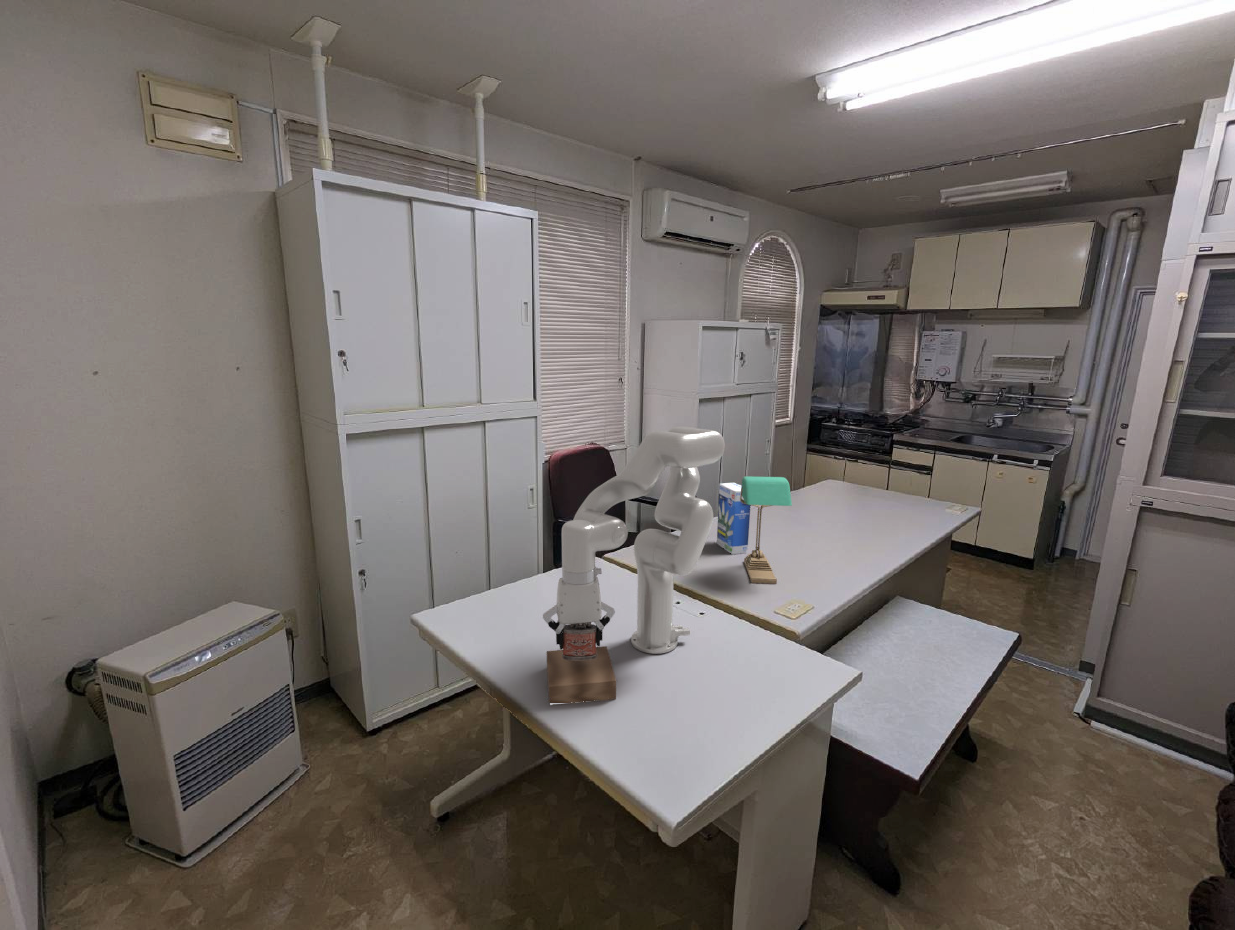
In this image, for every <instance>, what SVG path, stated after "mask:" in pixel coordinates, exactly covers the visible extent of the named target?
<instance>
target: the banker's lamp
mask: <svg viewBox="0 0 1235 930" xmlns="http://www.w3.org/2000/svg"><path fill="white" fill-rule="evenodd" d="M791 495H792V494H791V488H790V483H789V481H788V479H787V478H786V477H783V476H751V475H749V476H746V475H745V476H743V477H742V479H741V494H740V501H741V502H742V503H744V504H748V505H750V506H753V507H757V518H756V535H755V536H756V537H755V549H754V550H753V549H752V550H751V553H747V555H746V556H745V557H744V559H743V563H744V566H745V568H746V571H747V574H748V577H749V579H750V583H752V584H772V585H774V584H775V585H777V580H778V578H776V576H775V574H774V572H773V567H772V566H771V564H770V562H769V560H768V558H767V557H766V555H765V554H764V553H763V550H760V549H761V525H762V513H763V512H762V511H763V509H764V508H767V507H773V506H781V507H782V506H783V507H791V506H792V505H793V503H792V496H791ZM742 497H743V499H744V500H743V499H742Z"/></svg>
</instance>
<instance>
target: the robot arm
mask: <svg viewBox="0 0 1235 930" xmlns="http://www.w3.org/2000/svg"><path fill="white" fill-rule="evenodd" d="M725 448H726V443H725V439H724V437H723V435H722V434H721V433H719V432H718V431H716V430H714V429H713V430H712V429H705V428H697V427H690V426H689V427H688V426H675V427H672V428H670V429H668V431H664V430H662V431H661V430H655V431H651V432H649V433H648V434H647V435H645V437H644V439H642V441H641V443H640V444H639V446H638V447H637V448H636V450H635V451H634V453H633V454H632V456H631V457H630V459H629V461H627V463H626V465H625V466H624V468H623V469H622V471H620V472H619V473H618V474H617V475H616V476H613V477H612V478H609V479H608V480H607V481H605V482H604V483H602V484H600V485H599V486H597V487H596V488H594V489H593V490H592V491H591V492H590V493H589V494H588V495H587V497H586V498H585V499H584V500H583V502H582V503H581V504H580V506H579V507H578V510H577V511H576V512H575V515H574V516H573V520H572V519H571V520H568V521H566V522H565V523H564V524H563V525H562V527H561V571H562V572H561V573H562V574H561V575H562V576H561V577H559V579H558V584H557V590H556V591H557V592H556V604H555V605H553V607H551V608H549V609H548V610H546V612H544V613H543V614H542V619H543V621H544V622H545V623H546V624H547V626H548V627H549V628H550V629H552V630H553V631H554V632H555V638H556V639H555V642H556V645H559V650H563V632H562V629H563V628H564V626H565V625H569V624H577V623H588V622H591V623H594V625H596V627H597V630H596V647H601V641H603V630H604V629H605V627H606V626H607V625H608V623H610V621H611V619H612V618H613V617H614V615H615V613H616V610H615V608H613V607H612V606H610V605H608V604H606V603H604V602H603V601H602V598H601V588H600V582H599V578H598V576H599V575H602V568H601V567H600V568H598V567H597V566H596V553H597V552H601V551H610V550H611V551H612V550H615V549H618V548H620V547H621V546H622V545H623V544H625V542H626V541H627V539H628V535H629V529H628V526H627V525H626V523H625V522H624V521H623V520H621V519H620V518H618V517H616V516H612V515H609V514H606V512H607V511H608V510H609V509H611V508H612V507H613V506H615V505H617V504H619V503H621V502H624V501H629V500H632V499H633V500H634V499H637V498H640V497H644V496H647V495H648V494H649V493H650V492H651V491H652V489H653V487H654V486H655V484H656V483H657V481H658V480H659V478H660V477H661V475H662V474H663V472H664V470H665V469H667V467H669V475H668V478H667V479H666V480H667V481H666V483H665V486H664V488H663V490H662V493H661V495H660V498H659V500H658V502H657V504H656V507H655V510H654V519H655V521H656V523H658V524H659V525H660V526H663V527H664V528H667V529H670V530H673V531H678V532H680V535H677V534H674V533H671V532H668V531H664V530H662V529H656V528H646V529H643V530H642V531H640V532H639V533H638V534H637V536H636V537H635V540H634V543H633V551H634V552H633V553H634V559H635V563H636V564H635V565H636V572H637V573H636V574H637V593H636V595H637V596H636V597H637V599H636V601H637V603H636V604H637V605H636V610H637V611H636V614H637V615H636V617H637V618H636V631H633V633H632V634H631V638H630V639H631V640H630V641H631V645H632V646H633V647H634V648H635V649H636V650H637V651H640V652H642V653H647V654H653V655H656V654H666V653H669V652H672V651H673V650H675V649H676V648H677V646H678V642H679V639H678V638H679V637H682V636H683V637H686V636H690V634H691V632H690V631H691V630H690V628H689V627H683V625H682V624H677V625H674V624H673V620H674V619H673V616H674V615H673V613H674V578H673V575H675V576H678V577H684V576H685V577H686V576H688V575H689V574H690V573H692V572H693V570H695V567H696V566H697V564H698V562H699V560H700V557H701V555H702V553H703V549H704V547H705V545H706V542H707V540H708V538H709V534H710V532H711V530H712V527H713V523H714V510H713V508H712V507H713V506H711V504H710V503H709V502H708V501H707V500H705V499H702V498H699V497H696V495H697V492H698V490H699V487H700V483H701V476H700V472H699V468H698V467H704V466H707V465H712V464H714V463H716V462H717V461H719V460H720V459H721V458H722V456H723V455H724V452H725ZM602 611H604V612H606V613H605V615H604V616H602ZM555 615H557V621H555V620H554V619H552V617H553V616H555Z"/></svg>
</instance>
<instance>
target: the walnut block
mask: <svg viewBox="0 0 1235 930" xmlns="http://www.w3.org/2000/svg"><path fill="white" fill-rule="evenodd" d="M596 652H597V657H596V658H595V659H591V660H565V659H563V657H562V653H563V649H561V650H560V649H557V650H556V649H555V650H546V673H547V674H548V675H547V674H546V675H547V685H548V687H547V688H548V689H549V691H548V704H549V703H571V702H573V703H571V704H576V703H575V702H581V703H587V702H586V701H591V702H597V701H596V700H601V701H608V700H609V701H610V700H611V701H612V700H616V699H617V679H616V676H615V672H614V667H613V665H612V660H611V658H610V654H609V650H608V646H606V645H605V646H596ZM548 689H547V690H548ZM594 700H595V701H594ZM583 701H584V702H583Z"/></svg>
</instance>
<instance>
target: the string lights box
mask: <svg viewBox="0 0 1235 930" xmlns="http://www.w3.org/2000/svg"><path fill="white" fill-rule="evenodd" d="M741 486H742V484H738V483H736V482H725V483H719V489H718V508H717V509H718V512H717V528H716V529H717V530H716V531H717V532H716V544H717V545H718V546H719V547H720V548H722V549H723V548H724V550H725V551H726V552H728V553H729V554H730V553H731V555H741V554H749V553H748V549H749V537H750V536H749V533H750V521H751V520H750V519H751V505H748V504H744V503H742V502H741V501H740V494H741ZM742 499H743V497H742ZM743 500H744V499H743ZM740 553H741V554H740Z"/></svg>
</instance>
